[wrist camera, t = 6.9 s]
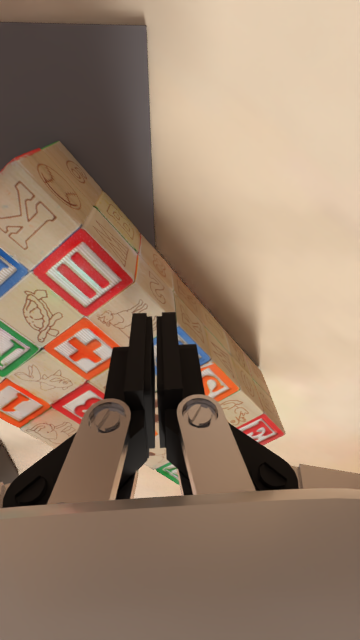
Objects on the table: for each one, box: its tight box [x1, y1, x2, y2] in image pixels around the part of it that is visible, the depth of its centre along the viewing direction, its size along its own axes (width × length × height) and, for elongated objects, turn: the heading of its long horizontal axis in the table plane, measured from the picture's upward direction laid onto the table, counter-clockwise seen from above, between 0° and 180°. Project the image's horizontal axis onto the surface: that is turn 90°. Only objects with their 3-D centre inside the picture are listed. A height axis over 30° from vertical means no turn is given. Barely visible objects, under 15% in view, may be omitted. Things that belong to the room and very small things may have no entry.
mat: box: [0, 22, 155, 249], centre depth 20 cm, size 11×23×1 cm, turn 0°
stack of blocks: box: [0, 141, 285, 485], centre depth 20 cm, size 21×6×12 cm
